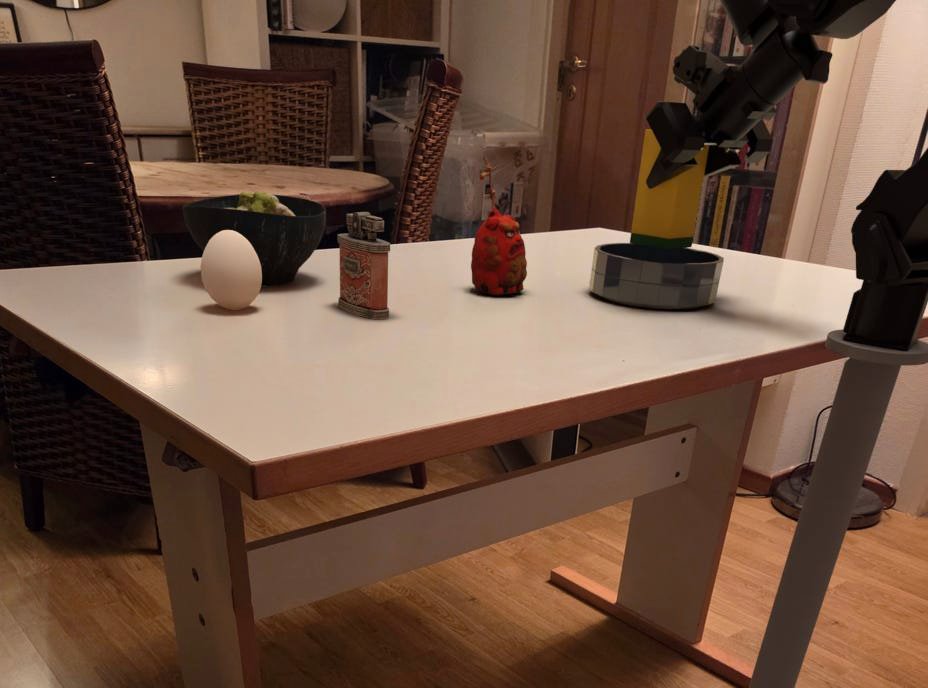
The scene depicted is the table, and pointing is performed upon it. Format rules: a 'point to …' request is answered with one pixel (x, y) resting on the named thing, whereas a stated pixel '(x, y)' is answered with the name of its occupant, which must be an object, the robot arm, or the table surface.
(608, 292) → the slate bowl
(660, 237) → the sponge
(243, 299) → the egg
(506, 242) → the red clay folk toy
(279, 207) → the bowl
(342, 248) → the lighter
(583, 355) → the table surface
